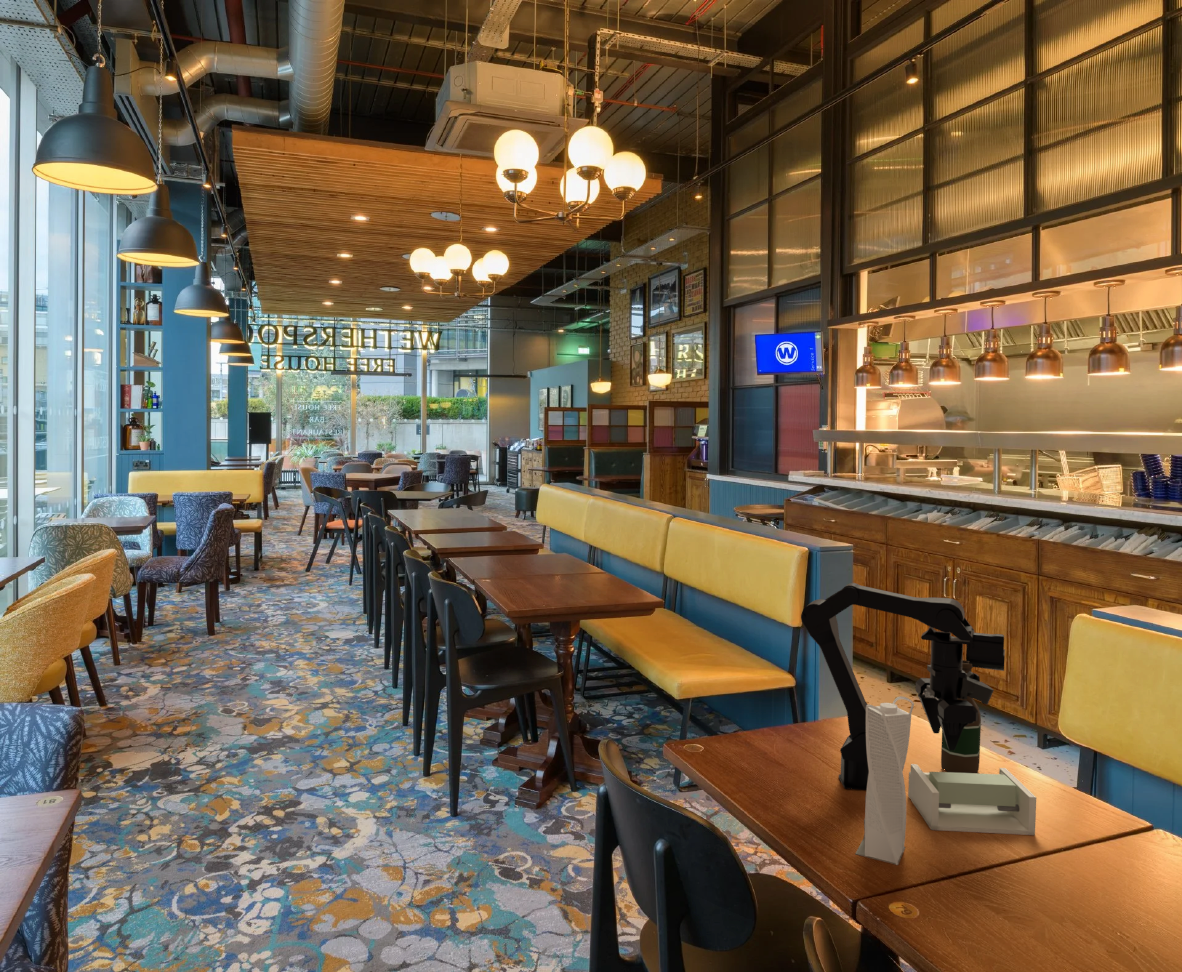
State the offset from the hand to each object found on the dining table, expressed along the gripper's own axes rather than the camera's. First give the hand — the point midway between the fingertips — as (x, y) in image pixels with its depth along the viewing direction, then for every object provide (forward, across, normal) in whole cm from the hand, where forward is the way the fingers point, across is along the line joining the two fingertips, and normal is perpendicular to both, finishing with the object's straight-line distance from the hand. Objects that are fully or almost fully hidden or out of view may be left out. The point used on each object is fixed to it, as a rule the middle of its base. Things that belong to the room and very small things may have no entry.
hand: (943, 741), depth 161 cm
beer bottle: (+12, +16, -9) cm, 22 cm away
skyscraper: (+12, -23, +17) cm, 31 cm away
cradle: (+12, -7, -3) cm, 14 cm away
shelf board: (+8, -7, -3) cm, 11 cm away
